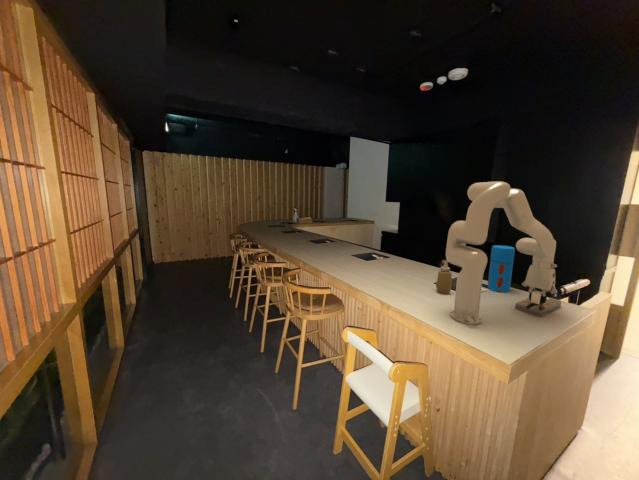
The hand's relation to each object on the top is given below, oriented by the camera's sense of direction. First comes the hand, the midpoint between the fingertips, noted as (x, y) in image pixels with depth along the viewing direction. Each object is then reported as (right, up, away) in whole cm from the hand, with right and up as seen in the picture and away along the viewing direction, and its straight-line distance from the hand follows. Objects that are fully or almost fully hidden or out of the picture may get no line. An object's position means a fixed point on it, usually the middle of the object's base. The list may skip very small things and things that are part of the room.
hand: (536, 301), depth 128 cm
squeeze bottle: (-34, 0, +22) cm, 41 cm away
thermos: (0, +1, +27) cm, 27 cm away
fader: (0, -1, 0) cm, 1 cm away
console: (+2, -3, +2) cm, 4 cm away
